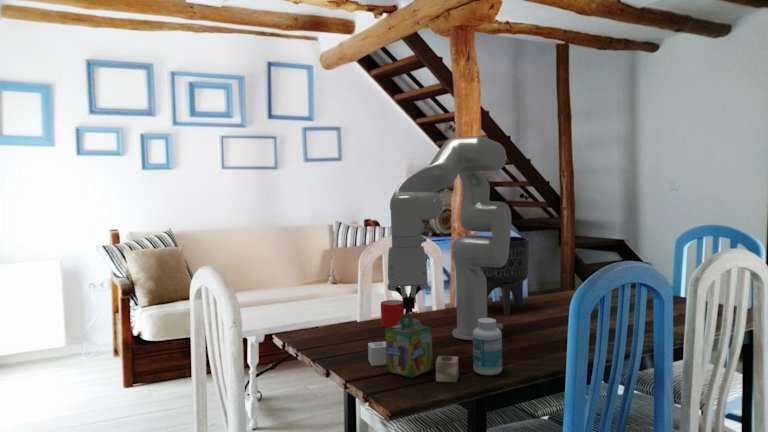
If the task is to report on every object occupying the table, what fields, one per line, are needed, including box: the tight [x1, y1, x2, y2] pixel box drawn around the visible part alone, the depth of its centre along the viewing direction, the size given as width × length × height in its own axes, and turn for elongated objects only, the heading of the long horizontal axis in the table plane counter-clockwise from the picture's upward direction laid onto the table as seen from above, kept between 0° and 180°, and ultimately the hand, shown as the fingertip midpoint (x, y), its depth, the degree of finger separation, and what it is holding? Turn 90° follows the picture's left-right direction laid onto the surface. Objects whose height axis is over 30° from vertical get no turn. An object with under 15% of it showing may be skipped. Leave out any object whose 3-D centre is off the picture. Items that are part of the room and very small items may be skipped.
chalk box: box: [384, 312, 434, 379], centre depth 157 cm, size 9×9×15 cm
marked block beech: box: [435, 355, 460, 383], centre depth 150 cm, size 5×5×5 cm
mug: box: [380, 299, 410, 329], centre depth 206 cm, size 8×12×8 cm, turn 135°
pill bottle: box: [472, 317, 503, 376], centre depth 154 cm, size 8×7×14 cm
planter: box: [480, 235, 530, 317], centre depth 220 cm, size 20×20×26 cm
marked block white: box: [367, 341, 387, 367], centre depth 165 cm, size 5×5×5 cm
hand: (408, 311), depth 156 cm, fingers closed
